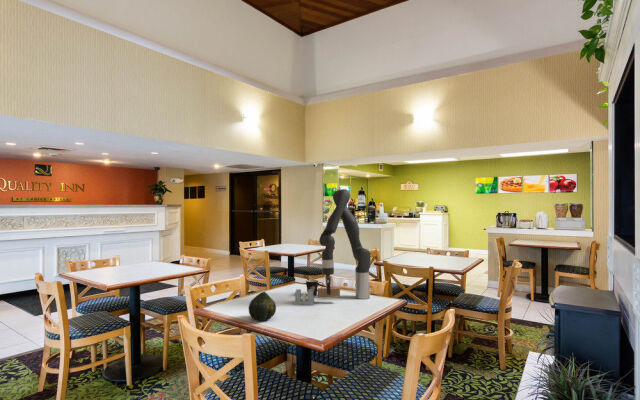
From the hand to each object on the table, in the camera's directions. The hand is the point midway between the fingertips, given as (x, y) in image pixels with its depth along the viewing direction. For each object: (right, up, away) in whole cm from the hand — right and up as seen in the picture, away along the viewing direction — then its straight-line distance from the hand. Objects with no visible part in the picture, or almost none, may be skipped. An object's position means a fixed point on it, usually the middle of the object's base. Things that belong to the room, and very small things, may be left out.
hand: (328, 293), depth 227 cm
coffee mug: (-10, -7, +20) cm, 24 cm away
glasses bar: (0, -2, 0) cm, 2 cm away
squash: (-37, -6, -32) cm, 50 cm away
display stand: (-16, -6, +1) cm, 17 cm away
